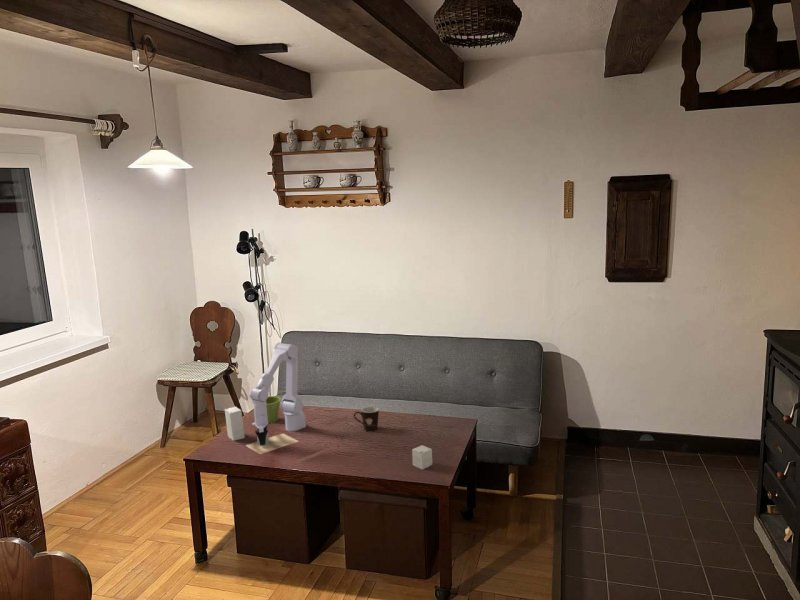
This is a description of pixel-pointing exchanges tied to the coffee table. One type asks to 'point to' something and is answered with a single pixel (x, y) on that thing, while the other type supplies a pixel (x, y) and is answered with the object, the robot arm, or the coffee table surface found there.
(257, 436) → the cap
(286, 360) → the robot arm
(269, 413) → the plant pot
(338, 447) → the coffee table surface
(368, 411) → the coffee mug
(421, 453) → the skincare box
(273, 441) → the board
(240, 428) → the skincare box
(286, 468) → the coffee table surface
